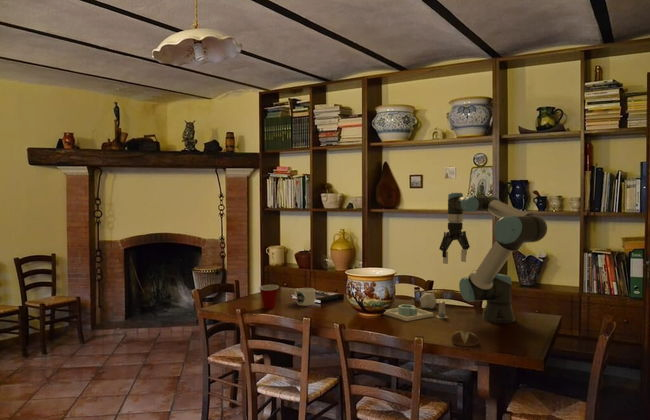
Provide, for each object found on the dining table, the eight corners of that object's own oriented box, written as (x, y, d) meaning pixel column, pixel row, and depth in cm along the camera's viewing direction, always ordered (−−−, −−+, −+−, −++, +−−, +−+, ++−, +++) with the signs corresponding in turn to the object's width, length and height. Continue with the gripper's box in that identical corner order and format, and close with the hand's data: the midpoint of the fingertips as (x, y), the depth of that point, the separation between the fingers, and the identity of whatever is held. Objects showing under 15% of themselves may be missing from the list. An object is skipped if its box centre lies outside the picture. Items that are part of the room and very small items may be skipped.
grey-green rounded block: (395, 313, 267) (395, 305, 267) (407, 311, 271) (407, 303, 271) (409, 317, 258) (409, 309, 258) (421, 315, 262) (421, 307, 262)
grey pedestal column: (450, 317, 260) (450, 302, 260) (441, 319, 257) (442, 303, 257) (441, 315, 265) (441, 300, 265) (433, 316, 262) (433, 301, 262)
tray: (433, 316, 262) (433, 312, 262) (406, 321, 252) (406, 317, 252) (409, 309, 277) (409, 306, 277) (383, 314, 267) (383, 310, 267)
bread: (450, 345, 215) (450, 333, 215) (453, 338, 225) (454, 327, 225) (477, 348, 211) (477, 336, 210) (480, 341, 221) (480, 329, 221)
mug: (318, 303, 293) (318, 289, 293) (308, 306, 284) (308, 292, 284) (299, 300, 300) (299, 286, 300) (288, 303, 291) (288, 289, 291)
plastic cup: (254, 308, 278) (254, 286, 278) (267, 305, 288) (267, 283, 287) (271, 311, 273) (270, 289, 272) (282, 307, 282) (282, 285, 282)
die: (438, 308, 284) (430, 292, 289) (440, 303, 276) (431, 287, 281) (424, 314, 283) (416, 298, 288) (425, 309, 275) (417, 293, 280)
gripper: (466, 221, 278) (465, 260, 279) (432, 222, 265) (432, 263, 266) (477, 221, 272) (476, 261, 273) (443, 223, 258) (442, 265, 259)
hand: (454, 262), depth 269 cm, fingers open, 13 cm apart
